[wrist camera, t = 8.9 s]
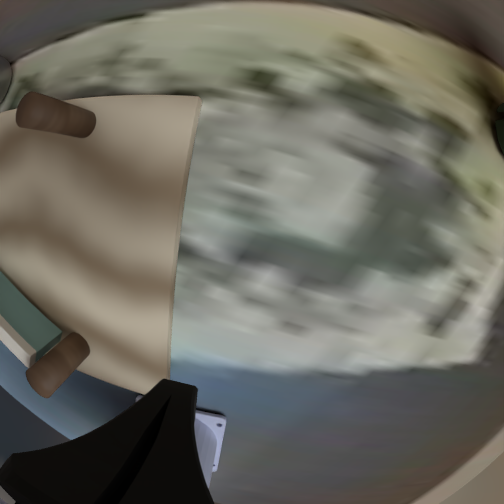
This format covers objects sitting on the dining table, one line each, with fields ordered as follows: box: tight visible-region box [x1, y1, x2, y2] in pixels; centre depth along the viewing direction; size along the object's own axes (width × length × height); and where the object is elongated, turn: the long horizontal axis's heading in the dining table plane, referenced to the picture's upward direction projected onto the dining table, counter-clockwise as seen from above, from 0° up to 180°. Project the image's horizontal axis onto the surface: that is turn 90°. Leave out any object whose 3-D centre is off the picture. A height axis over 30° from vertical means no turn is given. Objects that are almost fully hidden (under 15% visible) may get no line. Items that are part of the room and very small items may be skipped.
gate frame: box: [0, 92, 202, 398], centre depth 15 cm, size 22×20×7 cm
